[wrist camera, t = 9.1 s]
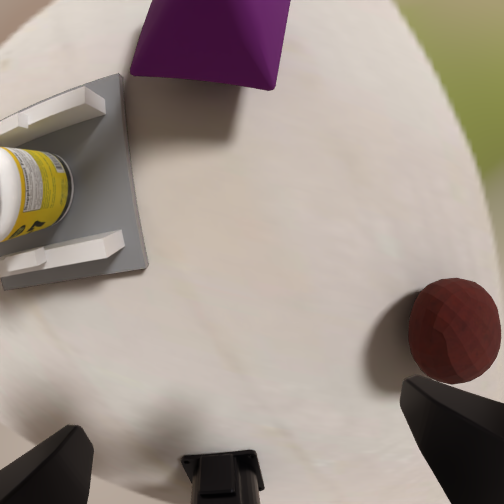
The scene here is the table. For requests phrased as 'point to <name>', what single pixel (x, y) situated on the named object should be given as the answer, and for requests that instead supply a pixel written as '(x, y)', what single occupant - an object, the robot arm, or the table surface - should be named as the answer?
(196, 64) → the purple potion bottle
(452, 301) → the potato
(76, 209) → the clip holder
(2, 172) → the supplement bottle
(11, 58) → the table surface
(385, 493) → the table surface
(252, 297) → the table surface
